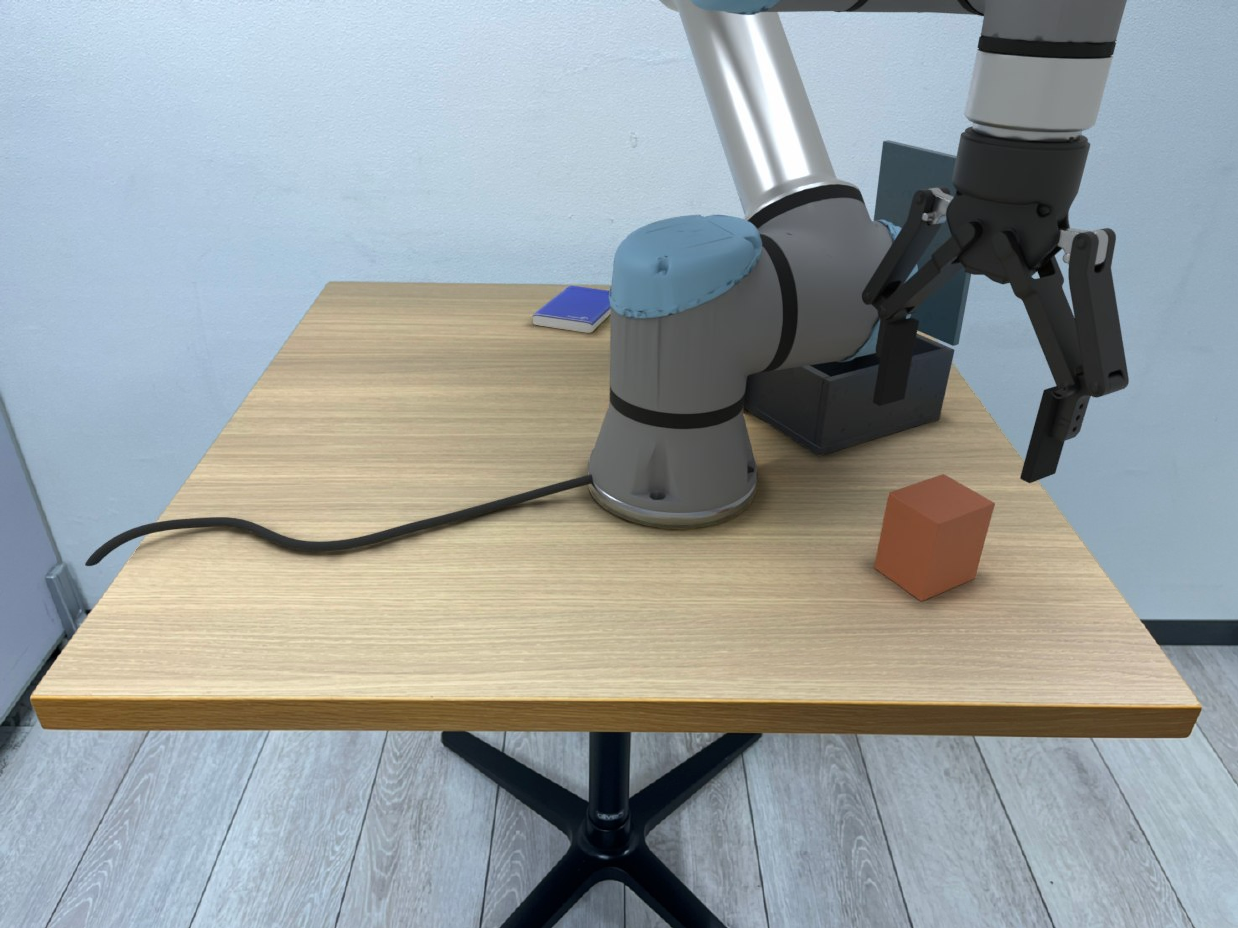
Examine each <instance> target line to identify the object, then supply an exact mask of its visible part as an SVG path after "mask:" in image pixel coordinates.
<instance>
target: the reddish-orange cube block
mask: <svg viewBox="0 0 1238 928" xmlns="http://www.w3.org/2000/svg"><path fill="white" fill-rule="evenodd" d="M995 505H996V503H995V502H994V501H992V500H990V499H989V498H987V497H985V496H983V495H981V494H980V493H978V492H976V491H975V490H973V489H971V488H969V487H968V486H966V485H964V484H962V483H961V482H958V481H956V480H955V479H954V478H952V477H950V476H948V475H947V474H944V473H941V474H939V475H936V476H933V477H929V478H927V479H923V480H921V481H918V482H916V483H913V484H909V485H906V486H904V487H901V488H899V489H895V490H893V491H892V490H891V491H889V492H888V494H887V500H886V504H885V510H884V513H883V514H884V515H883V519H882V525H881V532H880V535H879V540H878V544H877V545H878V546H877V550H876V555H875V560H874V565H873V566H874V567H873V568H874V569H875V570H876V571H878V572H879V573H880V574H882V575H884V576H885V577H886V578H888V579H889V580H891V581H892V582H893V583H895V584H896V585H898V586H899V587H901V588H902V589H903V590H904V591H906V592H907V593H909V594H910V595H911V596H913V597H914V598H916V599H917V600H918V601H920V602H924V601H926V600H928V599H930V598H933V597H935V596H937V595H939V594H942V593H945V592H946V591H949V590H951V589H953V588H954V589H955V588H957V587H958V586H961V585H963V584H966V583H968V582H970V581H972V580H974V579H976V577H977V572H978V569H979V565H980V562H981V557H982V553H983V551H984V546H985V542H986V539H987V538H986V537H987V534H988V530H989V528H990V523H991V520H992V516H993V512H994V509H995Z"/></svg>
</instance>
